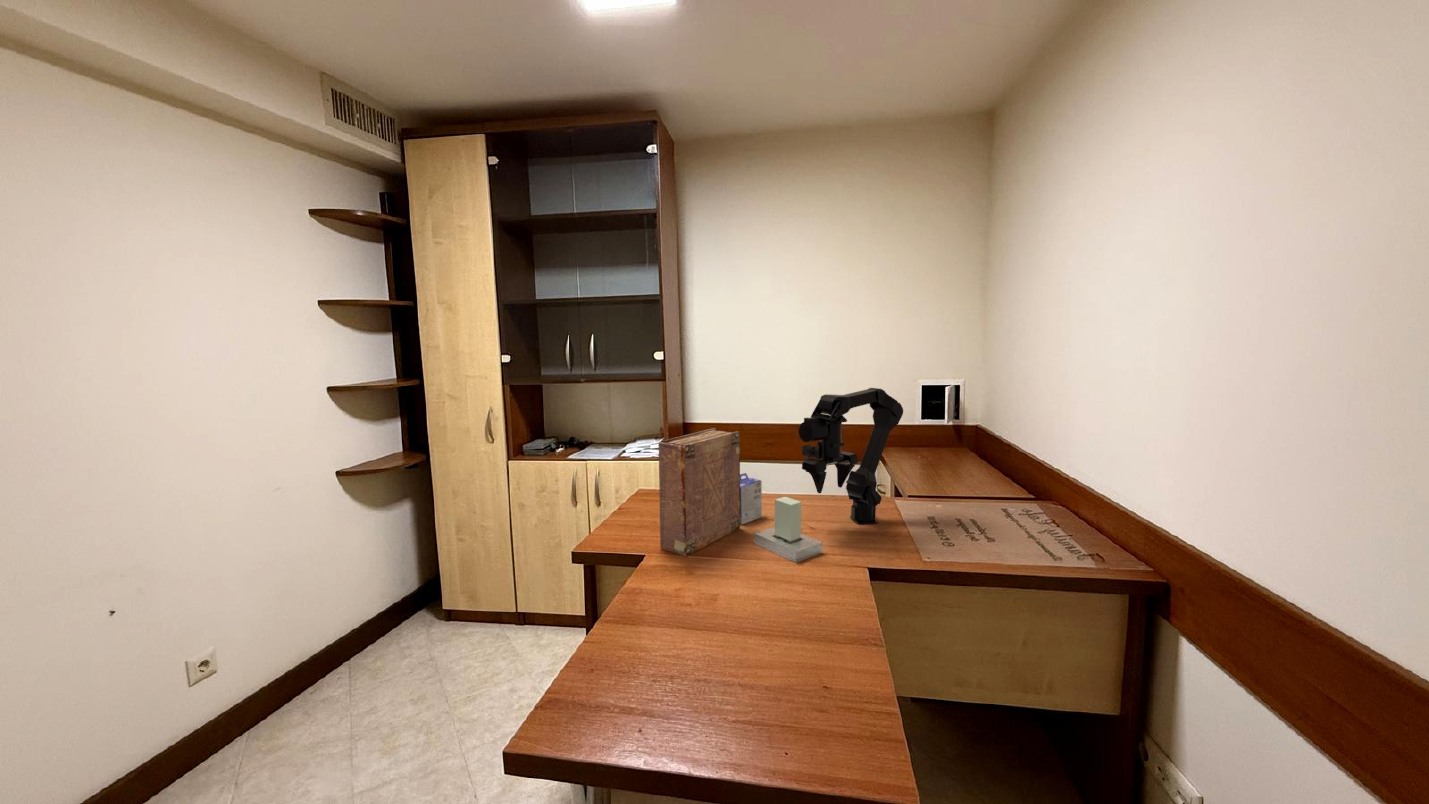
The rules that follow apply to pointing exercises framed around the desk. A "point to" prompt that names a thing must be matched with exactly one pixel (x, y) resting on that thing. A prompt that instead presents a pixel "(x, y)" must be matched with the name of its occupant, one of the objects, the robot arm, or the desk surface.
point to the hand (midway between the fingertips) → (829, 490)
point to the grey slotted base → (788, 545)
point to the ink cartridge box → (750, 499)
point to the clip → (788, 519)
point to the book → (698, 489)
